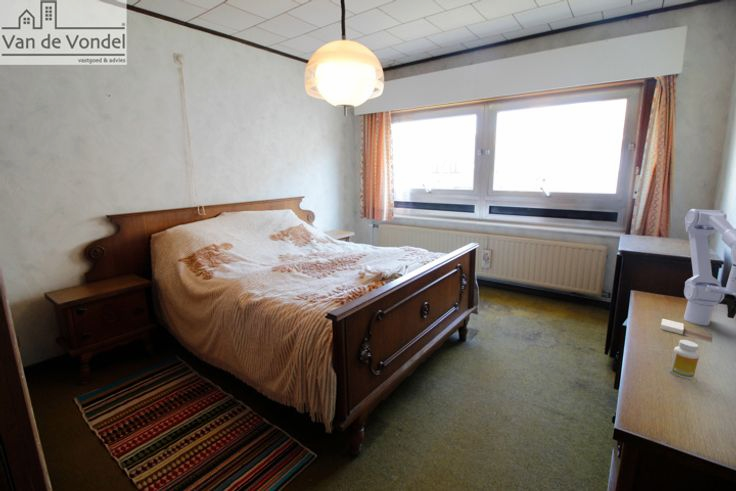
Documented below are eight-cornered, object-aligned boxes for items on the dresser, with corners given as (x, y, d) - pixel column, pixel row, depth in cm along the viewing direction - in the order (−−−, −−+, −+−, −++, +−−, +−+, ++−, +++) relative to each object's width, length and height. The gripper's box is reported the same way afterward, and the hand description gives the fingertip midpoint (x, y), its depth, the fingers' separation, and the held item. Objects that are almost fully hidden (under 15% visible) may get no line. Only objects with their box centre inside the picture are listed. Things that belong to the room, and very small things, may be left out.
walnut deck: (684, 330, 128) (685, 327, 127) (710, 337, 123) (711, 334, 123) (683, 338, 122) (684, 335, 122) (711, 345, 117) (712, 342, 117)
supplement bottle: (698, 380, 98) (706, 349, 96) (676, 377, 99) (684, 346, 97) (685, 369, 103) (693, 339, 101) (664, 367, 104) (672, 337, 102)
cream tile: (660, 324, 131) (662, 318, 131) (682, 329, 128) (683, 323, 127) (659, 331, 126) (661, 324, 126) (681, 336, 123) (683, 330, 122)
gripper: (711, 276, 116) (701, 314, 119) (776, 287, 107) (763, 328, 110) (710, 271, 121) (700, 308, 124) (773, 281, 112) (760, 321, 115)
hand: (730, 317), depth 118 cm, fingers closed
